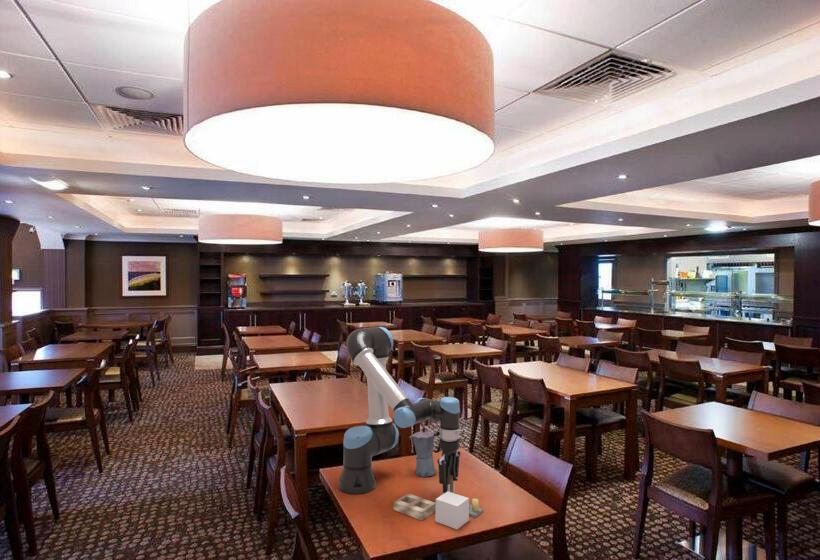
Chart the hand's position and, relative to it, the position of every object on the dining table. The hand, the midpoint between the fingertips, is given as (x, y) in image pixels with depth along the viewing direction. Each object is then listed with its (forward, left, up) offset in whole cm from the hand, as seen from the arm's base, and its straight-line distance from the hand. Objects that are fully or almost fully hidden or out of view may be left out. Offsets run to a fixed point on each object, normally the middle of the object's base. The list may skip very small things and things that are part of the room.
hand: (448, 498), depth 187 cm
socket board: (-6, -14, -1) cm, 15 cm away
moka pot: (-23, +17, -1) cm, 28 cm away
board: (+11, -2, -1) cm, 11 cm away
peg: (0, 0, -1) cm, 1 cm away
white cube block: (+9, -12, -1) cm, 15 cm away
